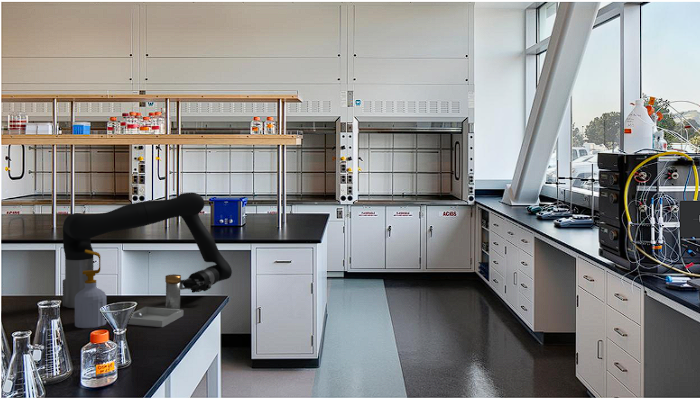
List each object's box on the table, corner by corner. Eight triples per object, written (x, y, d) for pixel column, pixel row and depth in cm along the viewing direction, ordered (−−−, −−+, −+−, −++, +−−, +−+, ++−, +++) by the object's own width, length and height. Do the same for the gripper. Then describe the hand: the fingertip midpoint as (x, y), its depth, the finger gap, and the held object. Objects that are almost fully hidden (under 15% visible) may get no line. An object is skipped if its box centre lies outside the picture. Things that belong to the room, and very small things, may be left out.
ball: (131, 322, 185) (131, 313, 184) (136, 319, 187) (136, 310, 187) (139, 323, 184) (139, 313, 184) (144, 320, 187) (144, 311, 187)
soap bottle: (75, 324, 184) (75, 248, 182) (106, 321, 188) (106, 247, 186) (74, 332, 176) (73, 252, 174) (106, 329, 179) (106, 251, 178)
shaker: (162, 313, 199) (162, 276, 198) (169, 310, 204) (170, 274, 203) (176, 315, 198) (176, 277, 197) (183, 311, 203) (183, 275, 203)
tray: (121, 326, 183) (121, 317, 183) (145, 315, 197) (145, 306, 197) (162, 330, 180) (162, 320, 180) (183, 318, 194) (183, 309, 194)
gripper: (184, 269, 224) (163, 277, 208) (218, 271, 222) (200, 280, 206) (184, 288, 225) (163, 297, 209) (218, 291, 222) (199, 300, 206)
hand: (181, 288), depth 207 cm, fingers open, 8 cm apart
